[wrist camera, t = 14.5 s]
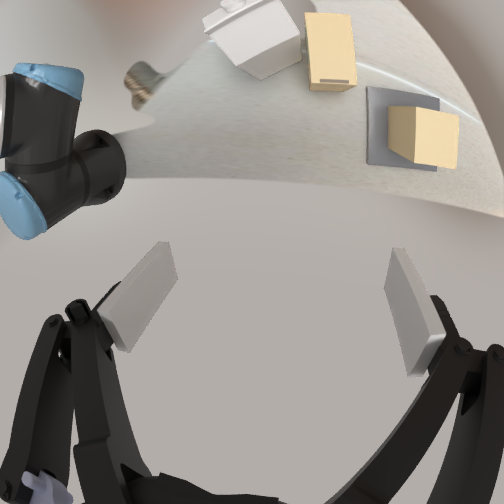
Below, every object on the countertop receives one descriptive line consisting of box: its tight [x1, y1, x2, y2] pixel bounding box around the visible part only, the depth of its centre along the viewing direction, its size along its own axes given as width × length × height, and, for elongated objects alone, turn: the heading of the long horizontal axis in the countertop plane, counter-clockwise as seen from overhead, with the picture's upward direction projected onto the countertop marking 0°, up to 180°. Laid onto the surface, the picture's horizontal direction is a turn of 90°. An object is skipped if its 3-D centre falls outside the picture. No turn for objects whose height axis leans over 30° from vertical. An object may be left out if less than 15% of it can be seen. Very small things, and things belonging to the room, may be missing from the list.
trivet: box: [366, 87, 440, 172], centre depth 33 cm, size 12×12×1 cm
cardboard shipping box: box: [305, 13, 357, 92], centre depth 26 cm, size 5×9×11 cm, turn 4°
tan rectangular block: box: [388, 106, 459, 169], centre depth 27 cm, size 6×6×11 cm
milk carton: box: [202, 0, 302, 80], centre depth 23 cm, size 7×7×19 cm
